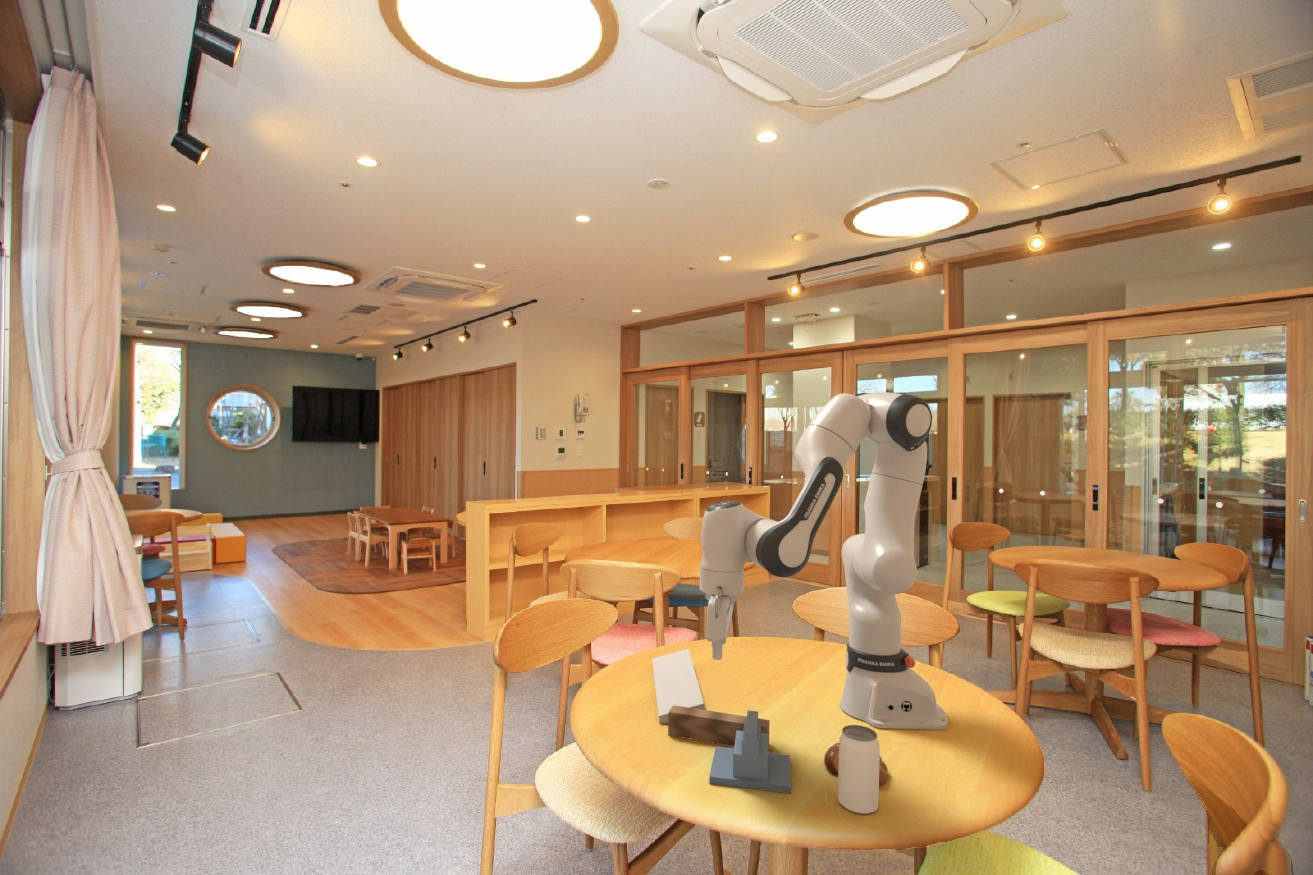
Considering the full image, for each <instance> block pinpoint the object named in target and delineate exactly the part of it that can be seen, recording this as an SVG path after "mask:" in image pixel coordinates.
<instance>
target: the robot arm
mask: <svg viewBox="0 0 1313 875" xmlns="http://www.w3.org/2000/svg"><path fill="white" fill-rule="evenodd" d="M932 423H933V415H932V410H931V407H930V405H929V403H928V402H927V401H926V400H925V399H923V398H922V397H920V396H917V395H913V394H910V393H906V394H904V393H903V394H901V393H895V392H885V391H882V392H871V393H866V392H861V393H856V394H852V393H843V392H842V393H838V394H836V395H835V396H833V397H831V399H830V400H829V401H828V402H826V404H825V405H824V406H823V407H822V408H821V409H820V410H819V411H818V413H817V414H816V415H815V416H814V417H813V419H812V420H811V422H810V423H809V424H808V426H807V427H806V429H805V430H804V431H803V433H802V434H801V436H800V438H799V440H798V442H797V445H796V447H795V449H794V455H795V456H794V457H795V460H796V464H797V465H798V467H799V469H800V470H801V472H803V474H804V477H805V479H804V480H805V481H804V485H803V487H802V489H801V491H800V492H799V495H798V496H797V498H796V500H795V501H794V504H793V505H792V507H791V509H790V511H789V512H788V514H787V515H786V517H784V518H783V519H782V520H779V521H776V520H774V519H772V518H768V517H766V516H762V515H760V514H758V513H756V512H754V511H752V510H751V509H749V508H747V507H746V506H745V505H744V504H743V503H742V502H740V501H737V500H724V501H717V502H714V503H711V504H710V505H708V506H707V508H706V509H705V510H704V514H703V518H702V524H701V534H700V535H701V536H700V537H701V538H700V547H701V551H702V556H701V560H700V565H699V590H700V592H702V593H705V595H704V596H705V599H706V600H707V601H708V603H707V612H706V634H705V635H706V640H707V641H708V642H711V648H712V659H713V660H714V661H715V660H716V661H721V660H722V658H723V645H725V644H727V636H728V631H729V628H730V624H731V620H732V617H733V616H732V615H733V612H734V607H735V602H736V601H737V600H738V595H740V594H743V593H744V586H745V585H744V584H745V582H744V579H745V565H746V564H747V563H752V564H754V565H756V566H758V567H761V568H763V569H764V570H765V571H767V572H768V573H770V574H771V575H772V576H775V577H777V578H790V577H793V576H795V575H797V574H799V573H800V572H801V571H802V570H803V569H804V568H805V567H806V565H807V564H808V562H809V559H810V558H811V553H812V548H813V544H814V540H815V538H816V535H817V533H818V530H819V528H820V527H821V525H822V523H823V521H824V519H825V517H826V515H827V513H828V511H829V509H830V508H831V506H832V504H833V502H834V500H835V498H836V496H837V494H838V492H839V489H840V487H841V485H842V482H843V478H844V472H845V469H846V468H847V465H848V463H849V462H850V460H851V459H852V457H853V455H854V454H855V452H856V451H857V449H858V447H859V446H860V443H861V441H863V440H865V441H868V442H869V441H870V442H874V443H876V445H877V455H876V458H875V460H874V463H873V468H872V471H871V475H870V479H869V483H868V487H867V491H866V495H865V499H864V502H863V510H864V516H865V517H864V518H865V519H864V520H865V522H864V533H858V534H853V535H851V536H850V537H848V538H847V539H846V540H845V541H844V543H843V544H842V547H841V552H840V554H841V559H842V563H843V567H844V575H845V578H844V580H845V587H846V593H847V600H848V607H849V608H848V609H849V610H848V611H849V612H848V614H849V618H848V620H849V621H848V623H849V624H848V627H849V628H848V643H847V644H846V650H845V668H846V677H845V678H846V679H845V685H844V688H843V693H842V697H841V700H840V703H839V707H840V708H841V709H842V711H844V712H845V713H846V714H847V715H849V716H851V717H854V718H855V719H858V720H861V721H864V722H865V723H867V724H869V725H871V726H873V727H874V728H877V729H898V730H899V729H902V730H903V729H905V730H907V729H908V730H945V729H947V728H948V727H949V718H948V716H947V713H946V711H945V710H944V709H943V708H942V707H941V706H940V705H939V704H938V703H937V698H936V695H935V692H934V690H933V688H932V686H931V685H930V684H929V683H928V682H927V681H926V680H925V679H924V678H923V677H921V676H920V675H919V674H918V673H917V672H915V671H914V670H913V668H915V666H916V660H915V659H914V658H913V657H912V656H910V654H909V653H908V651H906V650H905V649H904V648H901V645H902V644H901V643H902V642H901V640H902V639H901V638H902V637H901V636H902V631H901V630H902V614H901V611H900V608H899V606H898V602H897V598H896V595H898V594H899V595H900V594H903V593H905V592H907V591H908V590H910V589H911V587H913V585H914V583H916V579H917V577H918V569H917V563H916V560H915V555H914V548H915V547H914V546H915V544H914V543H915V540H914V538H915V537H914V536H915V532H914V531H915V520H916V515H917V510H918V506H919V502H920V501H919V500H920V498H921V492H922V489H923V484H924V480H925V476H926V468H927V461H928V445H927V441H926V440H927V437H928V435H929V434H930V432H931V431H930V430H931V428H932V425H933V424H932Z"/></svg>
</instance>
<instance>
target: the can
mask: <svg viewBox="0 0 1313 875" xmlns="http://www.w3.org/2000/svg"><path fill="white" fill-rule="evenodd" d="M841 731H842V732H841V735H840V736H839V738H838V739H839V742H838V743H839V771H838V776H837V777H838V781H837V782H838V783H837V785H838V787H837V799H838V802H839V803H840V805H841V806H842V807H843V808H844V809H845V810H847V811H849V812H851V813H854V814H858V815H870V814H873V813H875V812H876V811H877V810H878V808H879V791H880V790H879V789H880V788H879V787H880V786H879V759H880V757H881V754H880V751H881V750H880V748H881V747H880V745H881V744H880V741H879V740H878V734H877V732H876V731H875V730H874V729H873V728H870V727H868V726H865V725H861V724H859V725H858V724H850V725H848V724H847V725H845V726H844V727H842V729H841Z"/></svg>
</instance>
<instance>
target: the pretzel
mask: <svg viewBox="0 0 1313 875" xmlns="http://www.w3.org/2000/svg"><path fill="white" fill-rule="evenodd" d="M823 758H824V760H823V761H824V762H823V763H824V765H825V768H826V769H827V771H828V772H830V773H831V775H834V776H836V777H838V771H839V742H836V743H835V744H833V745H832V746H830V747H829V748H828V749H827V751H826V752H825V754H824V757H823ZM887 773H888V767H887V765H886V763H885V762H884V761H883V759H882V756H880V759H879V787H882V786H883V785H884V784H885V783H886V781H887V779H888V776H887Z"/></svg>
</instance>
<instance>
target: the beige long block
mask: <svg viewBox="0 0 1313 875" xmlns="http://www.w3.org/2000/svg"><path fill="white" fill-rule="evenodd" d="M651 660H652V669H653V678H654V687H655V695H656V698H655V699H656V704H657V716H658V719H659V720H660V722H661V724H662V723H667V724H668V716H669V711H670V709H671V708H672V706H673V705H676V706H682V707H688V708H695V709H701V710H706V706H705V702H704V699H703V695H702V692H701V689H700V688H701V687H700V684H699V681H698V678H697V677H698V676H697V674H696V670H695V666H694V664H693V660H692V656H691V652H690V650H689V648H687V649H683V650H679V651H676V652H672V653H668V654H665V655H661V656H657V657H654V658H652V659H651Z"/></svg>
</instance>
